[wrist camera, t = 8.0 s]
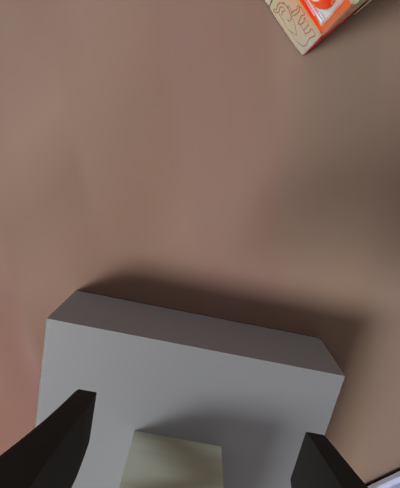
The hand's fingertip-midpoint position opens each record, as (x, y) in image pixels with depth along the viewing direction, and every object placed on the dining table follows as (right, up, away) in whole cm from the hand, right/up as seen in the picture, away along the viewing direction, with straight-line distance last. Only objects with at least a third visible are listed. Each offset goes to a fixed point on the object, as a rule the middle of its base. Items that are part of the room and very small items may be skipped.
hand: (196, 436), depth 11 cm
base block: (-2, -6, +12) cm, 13 cm away
